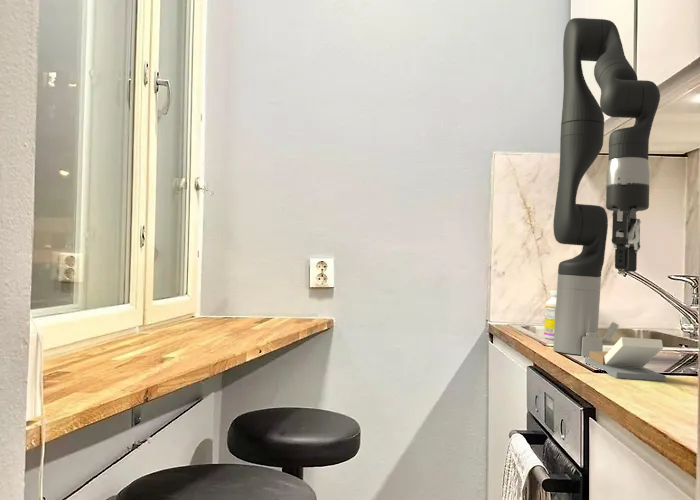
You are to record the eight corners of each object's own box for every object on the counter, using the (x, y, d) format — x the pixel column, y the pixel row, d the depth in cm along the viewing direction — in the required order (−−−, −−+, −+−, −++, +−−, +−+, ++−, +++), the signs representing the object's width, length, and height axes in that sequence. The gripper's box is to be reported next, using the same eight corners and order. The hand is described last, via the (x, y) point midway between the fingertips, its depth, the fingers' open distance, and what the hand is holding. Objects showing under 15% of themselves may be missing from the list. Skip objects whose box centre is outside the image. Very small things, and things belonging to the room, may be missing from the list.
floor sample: (584, 363, 137) (585, 350, 137) (627, 366, 137) (628, 353, 137) (616, 378, 120) (617, 363, 120) (665, 381, 120) (666, 366, 120)
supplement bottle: (569, 339, 184) (572, 291, 184) (570, 341, 178) (573, 292, 178) (543, 336, 186) (546, 289, 186) (543, 339, 179) (546, 290, 180)
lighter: (581, 357, 147) (583, 319, 147) (581, 356, 149) (583, 319, 149) (616, 360, 145) (619, 322, 145) (616, 359, 147) (618, 322, 147)
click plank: (605, 364, 128) (604, 356, 128) (643, 366, 128) (641, 358, 128) (622, 345, 120) (621, 337, 121) (663, 348, 120) (661, 339, 121)
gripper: (614, 191, 138) (612, 272, 136) (598, 179, 125) (596, 267, 124) (654, 189, 134) (653, 273, 132) (642, 177, 121) (641, 268, 120)
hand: (625, 270), depth 128 cm, fingers open, 8 cm apart
